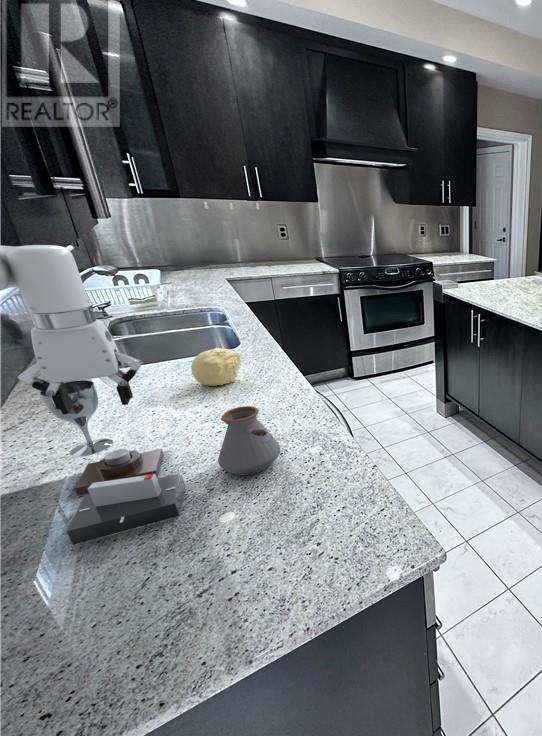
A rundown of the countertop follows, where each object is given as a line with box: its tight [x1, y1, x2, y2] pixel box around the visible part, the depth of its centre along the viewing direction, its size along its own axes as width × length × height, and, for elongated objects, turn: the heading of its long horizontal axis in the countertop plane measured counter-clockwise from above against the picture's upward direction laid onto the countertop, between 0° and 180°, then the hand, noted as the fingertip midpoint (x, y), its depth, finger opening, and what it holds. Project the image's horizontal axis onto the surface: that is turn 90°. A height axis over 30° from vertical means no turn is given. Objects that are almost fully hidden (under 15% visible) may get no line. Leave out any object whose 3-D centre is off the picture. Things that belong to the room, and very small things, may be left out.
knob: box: [88, 474, 162, 507], centre depth 72 cm, size 9×2×4 cm, turn 111°
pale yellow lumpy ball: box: [190, 347, 242, 387], centre depth 124 cm, size 12×12×11 cm
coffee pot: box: [217, 405, 281, 476], centre depth 83 cm, size 21×12×15 cm, turn 47°
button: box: [104, 448, 131, 466], centre depth 82 cm, size 4×4×2 cm
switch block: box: [74, 448, 165, 496], centre depth 83 cm, size 12×9×4 cm
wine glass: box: [39, 379, 114, 457], centre depth 89 cm, size 8×8×15 cm
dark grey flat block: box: [66, 472, 186, 546], centre depth 74 cm, size 14×13×3 cm
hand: (98, 406), depth 78 cm, fingers open, 7 cm apart
